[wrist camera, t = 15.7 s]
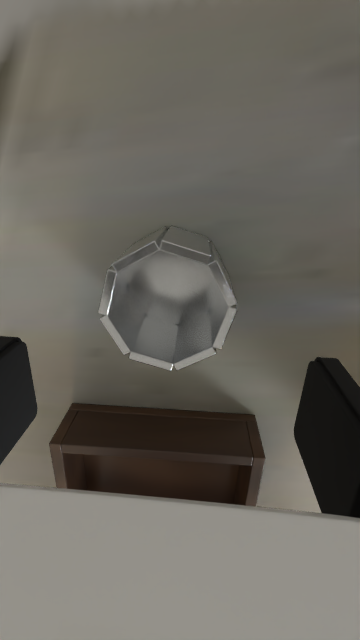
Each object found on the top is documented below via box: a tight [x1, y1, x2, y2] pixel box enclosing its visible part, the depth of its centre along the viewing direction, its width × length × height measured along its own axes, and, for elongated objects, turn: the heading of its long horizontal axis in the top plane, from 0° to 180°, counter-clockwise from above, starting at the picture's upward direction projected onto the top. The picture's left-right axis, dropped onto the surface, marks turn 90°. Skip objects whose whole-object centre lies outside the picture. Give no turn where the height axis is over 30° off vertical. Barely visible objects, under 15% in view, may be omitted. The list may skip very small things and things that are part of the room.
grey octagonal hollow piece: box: [98, 226, 237, 371], centre depth 18 cm, size 7×7×6 cm
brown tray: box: [49, 403, 265, 506], centre depth 26 cm, size 17×15×4 cm
